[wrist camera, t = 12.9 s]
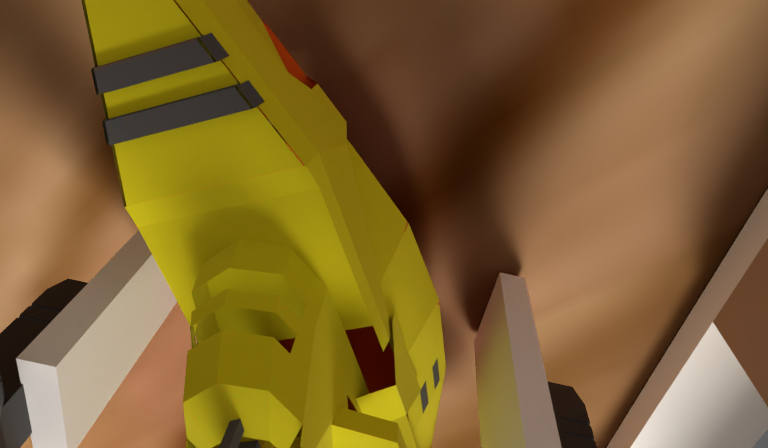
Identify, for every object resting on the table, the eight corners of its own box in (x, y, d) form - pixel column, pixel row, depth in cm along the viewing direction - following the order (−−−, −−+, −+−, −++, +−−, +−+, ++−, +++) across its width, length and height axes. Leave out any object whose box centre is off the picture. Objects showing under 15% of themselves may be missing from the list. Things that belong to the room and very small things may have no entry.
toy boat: (335, 468, 22) (261, 842, 13) (105, -15, 13) (-515, 127, 5) (499, 451, 20) (540, 857, 12) (355, -98, 12) (126, -109, 3)
